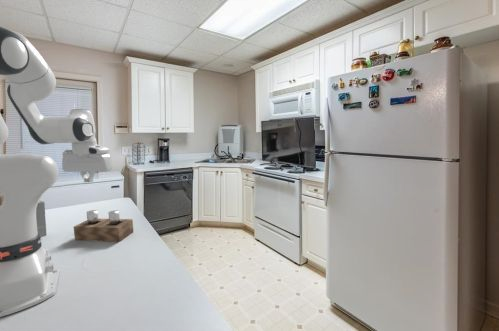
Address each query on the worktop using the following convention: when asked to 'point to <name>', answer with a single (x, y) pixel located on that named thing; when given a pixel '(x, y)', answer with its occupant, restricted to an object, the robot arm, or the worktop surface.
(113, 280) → the worktop surface
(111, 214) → the steel peg
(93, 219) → the steel peg
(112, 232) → the walnut block
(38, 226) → the skincare box
